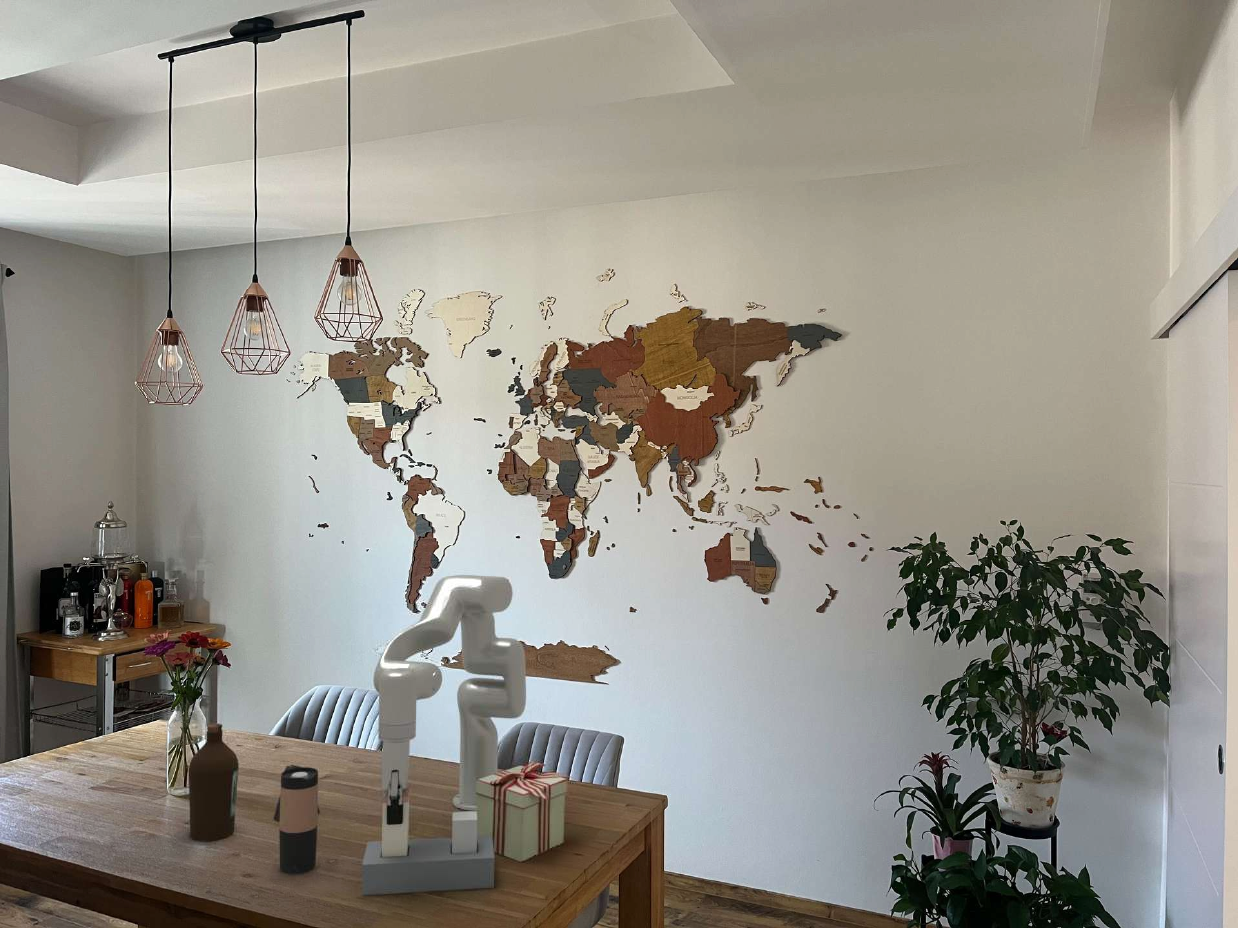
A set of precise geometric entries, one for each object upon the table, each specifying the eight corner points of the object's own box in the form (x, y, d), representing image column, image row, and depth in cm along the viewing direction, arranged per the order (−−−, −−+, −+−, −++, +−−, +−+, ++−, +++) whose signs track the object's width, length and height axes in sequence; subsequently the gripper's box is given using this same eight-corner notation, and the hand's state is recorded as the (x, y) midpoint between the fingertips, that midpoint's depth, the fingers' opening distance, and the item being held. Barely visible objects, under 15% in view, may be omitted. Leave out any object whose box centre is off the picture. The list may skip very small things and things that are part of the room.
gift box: (536, 867, 201) (537, 786, 201) (470, 848, 210) (471, 771, 211) (581, 842, 215) (582, 766, 215) (517, 825, 225) (519, 753, 225)
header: (491, 863, 202) (492, 804, 203) (493, 887, 191) (495, 824, 191) (367, 870, 198) (368, 809, 198) (361, 895, 186) (362, 831, 186)
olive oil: (187, 845, 209) (190, 733, 210) (186, 829, 219) (188, 721, 219) (238, 838, 214) (241, 728, 215) (235, 822, 224) (237, 717, 224)
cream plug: (408, 845, 196) (409, 788, 196) (407, 855, 191) (408, 796, 191) (383, 847, 195) (384, 789, 195) (381, 856, 190) (382, 797, 190)
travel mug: (284, 860, 202) (286, 766, 203) (320, 859, 203) (322, 766, 203) (274, 875, 195) (276, 778, 195) (311, 874, 195) (313, 777, 196)
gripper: (381, 719, 201) (380, 805, 201) (374, 742, 184) (373, 835, 184) (417, 718, 203) (416, 803, 202) (414, 740, 186) (412, 833, 185)
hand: (395, 817), depth 193 cm, fingers closed on cream plug, 5 cm apart
